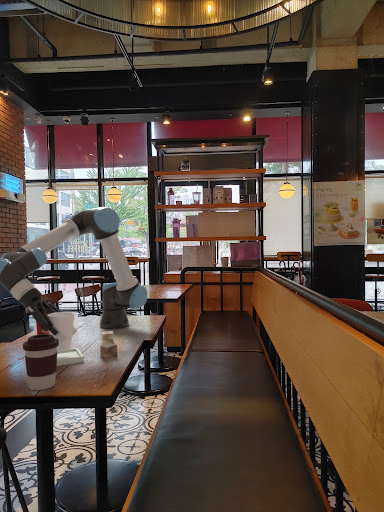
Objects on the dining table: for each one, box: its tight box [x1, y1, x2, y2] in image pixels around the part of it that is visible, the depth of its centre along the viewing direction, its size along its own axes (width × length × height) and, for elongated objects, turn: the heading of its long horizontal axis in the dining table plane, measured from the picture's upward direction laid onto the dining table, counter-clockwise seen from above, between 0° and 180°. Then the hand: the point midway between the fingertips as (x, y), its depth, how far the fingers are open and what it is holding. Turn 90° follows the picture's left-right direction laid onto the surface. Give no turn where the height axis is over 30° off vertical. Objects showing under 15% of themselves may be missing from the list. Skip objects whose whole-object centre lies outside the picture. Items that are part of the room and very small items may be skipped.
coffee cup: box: [22, 334, 59, 391], centre depth 106 cm, size 10×10×15 cm
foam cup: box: [47, 311, 75, 352], centre depth 131 cm, size 10×9×13 cm
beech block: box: [101, 330, 115, 345], centre depth 155 cm, size 4×4×4 cm
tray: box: [57, 347, 85, 367], centre depth 131 cm, size 13×13×2 cm
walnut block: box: [99, 343, 118, 360], centre depth 134 cm, size 4×4×4 cm
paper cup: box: [35, 314, 50, 335], centre depth 162 cm, size 8×8×14 cm
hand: (69, 336), depth 131 cm, fingers closed on foam cup, 9 cm apart
